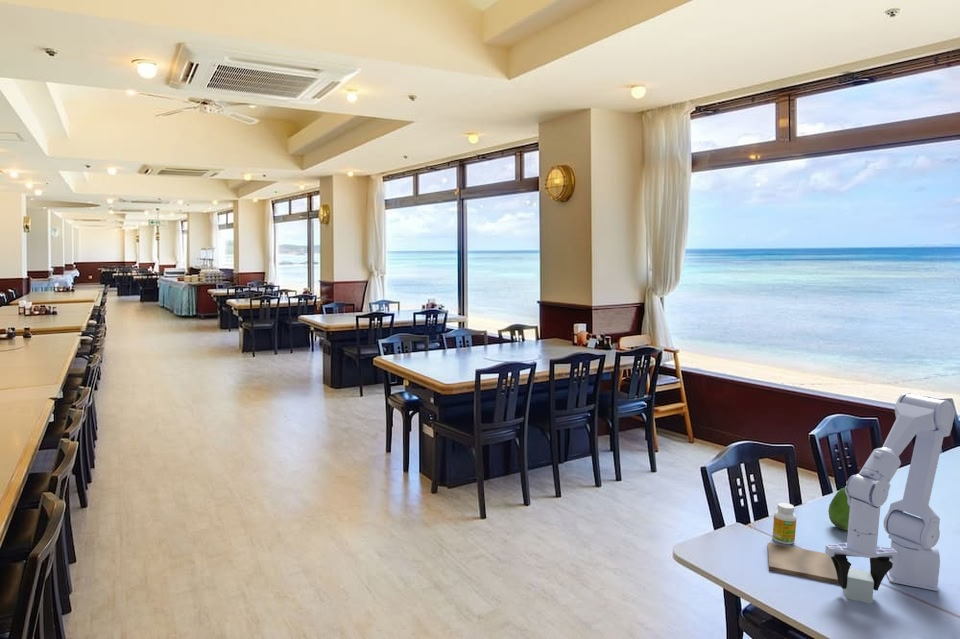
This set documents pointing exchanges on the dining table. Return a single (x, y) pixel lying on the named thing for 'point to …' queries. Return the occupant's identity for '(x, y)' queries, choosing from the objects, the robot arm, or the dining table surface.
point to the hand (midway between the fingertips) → (857, 587)
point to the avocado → (839, 510)
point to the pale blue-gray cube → (859, 586)
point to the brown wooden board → (801, 563)
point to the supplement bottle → (784, 524)
